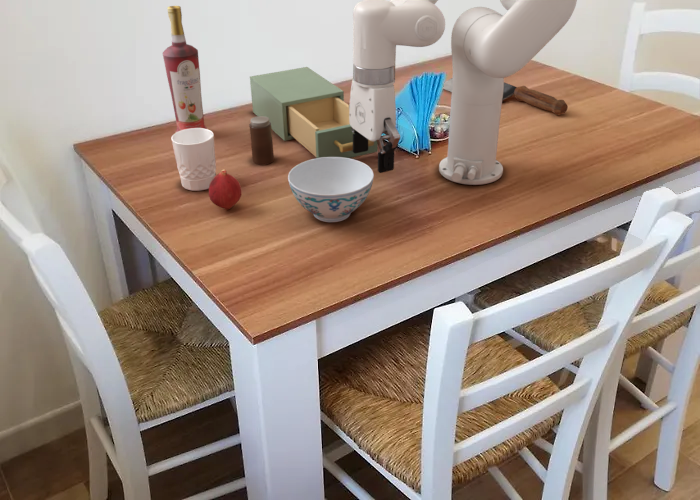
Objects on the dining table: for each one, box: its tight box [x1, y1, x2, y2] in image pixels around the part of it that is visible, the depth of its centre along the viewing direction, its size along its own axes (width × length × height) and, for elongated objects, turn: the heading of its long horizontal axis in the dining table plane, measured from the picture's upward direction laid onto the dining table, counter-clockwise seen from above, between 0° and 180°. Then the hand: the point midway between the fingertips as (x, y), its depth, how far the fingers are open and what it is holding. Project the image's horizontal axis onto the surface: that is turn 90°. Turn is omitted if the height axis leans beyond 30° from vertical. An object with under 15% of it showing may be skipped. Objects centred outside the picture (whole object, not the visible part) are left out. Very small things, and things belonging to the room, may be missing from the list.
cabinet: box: [249, 66, 345, 142], centre depth 164 cm, size 20×15×9 cm
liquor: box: [162, 5, 208, 133], centre depth 152 cm, size 7×7×28 cm
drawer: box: [286, 96, 379, 159], centre depth 150 cm, size 23×14×7 cm, turn 27°
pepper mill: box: [248, 115, 275, 166], centre depth 146 cm, size 4×4×9 cm
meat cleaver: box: [442, 77, 568, 116], centre depth 175 cm, size 34×11×4 cm, turn 36°
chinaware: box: [287, 157, 375, 223], centre depth 126 cm, size 15×15×8 cm
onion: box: [208, 169, 242, 211], centre depth 128 cm, size 6×6×8 cm
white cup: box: [170, 128, 217, 192], centre depth 137 cm, size 8×8×10 cm
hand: (372, 161), depth 136 cm, fingers open, 9 cm apart
